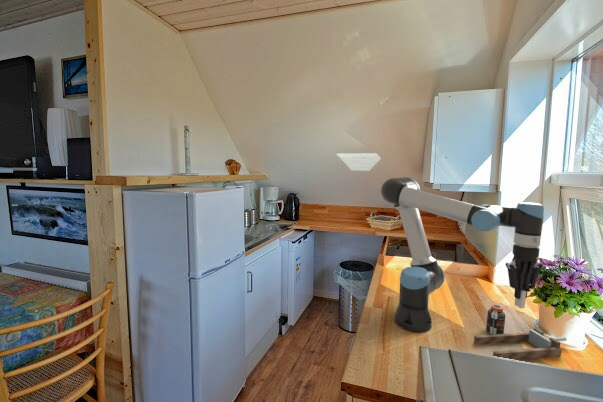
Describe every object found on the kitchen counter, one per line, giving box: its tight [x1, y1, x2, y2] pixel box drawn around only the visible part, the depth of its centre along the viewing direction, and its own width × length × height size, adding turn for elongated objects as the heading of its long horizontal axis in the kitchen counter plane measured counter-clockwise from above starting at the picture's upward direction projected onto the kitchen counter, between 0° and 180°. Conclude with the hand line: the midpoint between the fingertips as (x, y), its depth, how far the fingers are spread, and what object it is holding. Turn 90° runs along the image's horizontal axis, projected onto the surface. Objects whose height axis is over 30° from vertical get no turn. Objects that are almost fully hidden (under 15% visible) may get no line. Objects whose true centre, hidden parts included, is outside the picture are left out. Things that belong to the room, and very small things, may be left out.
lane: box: [473, 327, 563, 361], centre depth 103 cm, size 25×10×5 cm, turn 96°
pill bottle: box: [485, 303, 506, 335], centre depth 114 cm, size 6×6×11 cm
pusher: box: [527, 328, 568, 348], centre depth 105 cm, size 11×7×5 cm, turn 96°
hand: (519, 306), depth 104 cm, fingers closed
